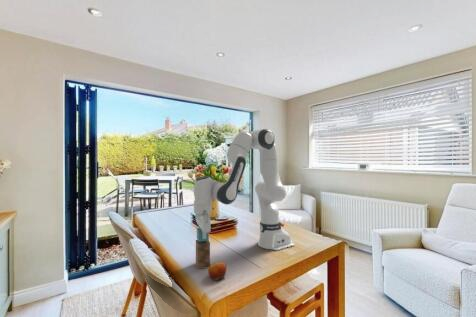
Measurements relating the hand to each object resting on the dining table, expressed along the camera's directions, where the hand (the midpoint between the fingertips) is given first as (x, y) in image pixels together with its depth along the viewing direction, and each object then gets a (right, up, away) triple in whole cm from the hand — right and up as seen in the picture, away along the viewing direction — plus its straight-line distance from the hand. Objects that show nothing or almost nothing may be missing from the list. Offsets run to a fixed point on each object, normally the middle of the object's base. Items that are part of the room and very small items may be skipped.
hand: (202, 236), depth 115 cm
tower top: (0, -9, 0) cm, 9 cm away
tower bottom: (0, -15, 0) cm, 15 cm away
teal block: (0, -2, 0) cm, 2 cm away
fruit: (+8, -15, -12) cm, 21 cm away
